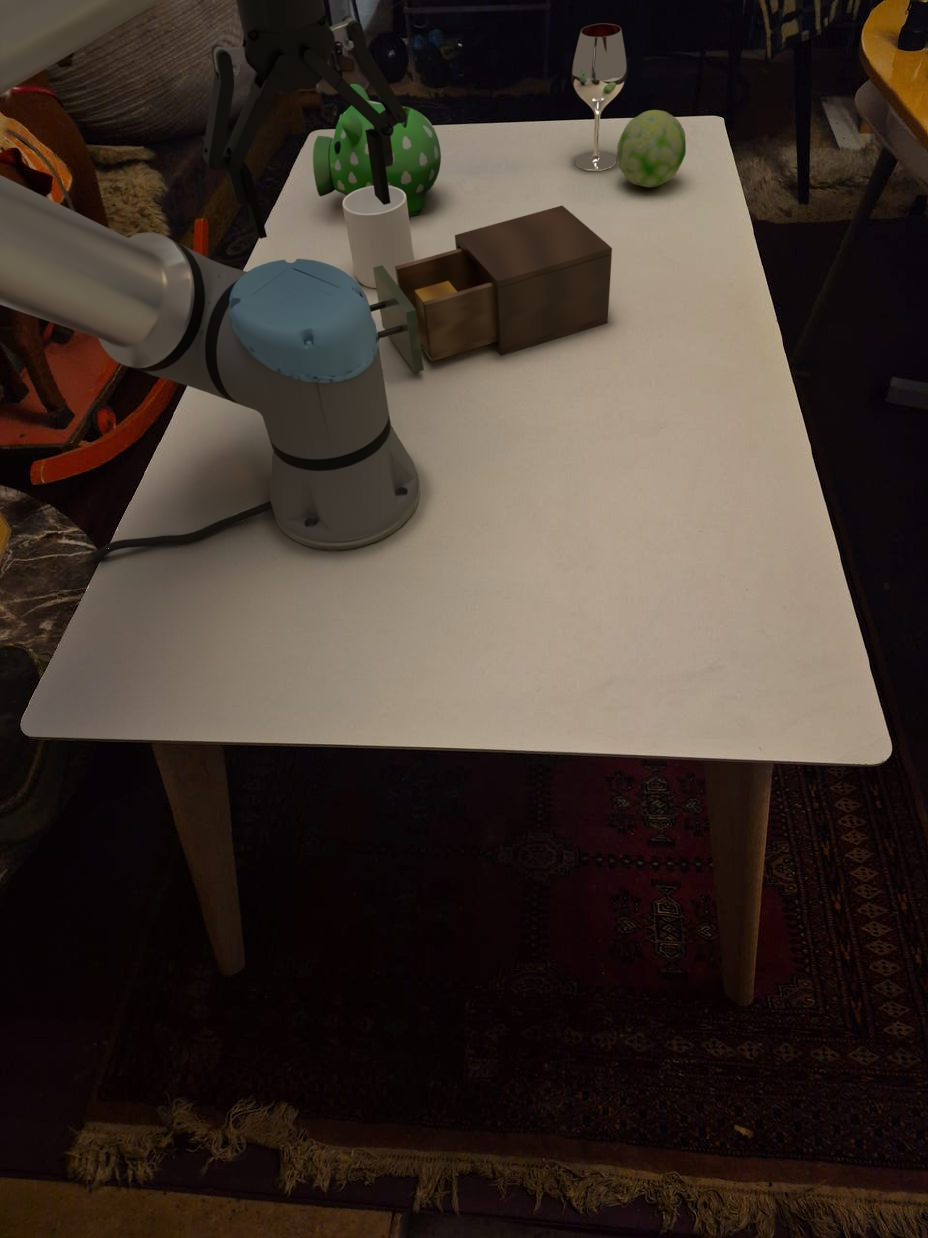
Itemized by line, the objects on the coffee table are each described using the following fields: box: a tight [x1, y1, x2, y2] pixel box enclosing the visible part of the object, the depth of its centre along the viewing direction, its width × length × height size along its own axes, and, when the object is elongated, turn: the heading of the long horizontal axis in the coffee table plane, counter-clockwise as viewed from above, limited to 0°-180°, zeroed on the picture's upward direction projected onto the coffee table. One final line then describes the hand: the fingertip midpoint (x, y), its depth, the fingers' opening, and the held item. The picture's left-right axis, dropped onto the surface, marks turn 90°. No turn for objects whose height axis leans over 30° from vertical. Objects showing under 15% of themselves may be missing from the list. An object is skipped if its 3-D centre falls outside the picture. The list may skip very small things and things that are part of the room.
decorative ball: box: [616, 109, 687, 189], centre depth 126 cm, size 10×10×10 cm
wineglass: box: [570, 23, 628, 172], centre depth 129 cm, size 8×8×18 cm
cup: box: [341, 186, 415, 289], centre depth 115 cm, size 8×12×10 cm
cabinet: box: [454, 205, 613, 356], centre depth 105 cm, size 15×13×10 cm
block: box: [415, 281, 457, 333], centre depth 103 cm, size 4×4×4 cm
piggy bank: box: [312, 83, 442, 217], centre depth 126 cm, size 14×18×15 cm
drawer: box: [369, 248, 498, 373], centre depth 102 cm, size 18×11×8 cm, turn 113°
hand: (322, 215), depth 90 cm, fingers open, 13 cm apart
